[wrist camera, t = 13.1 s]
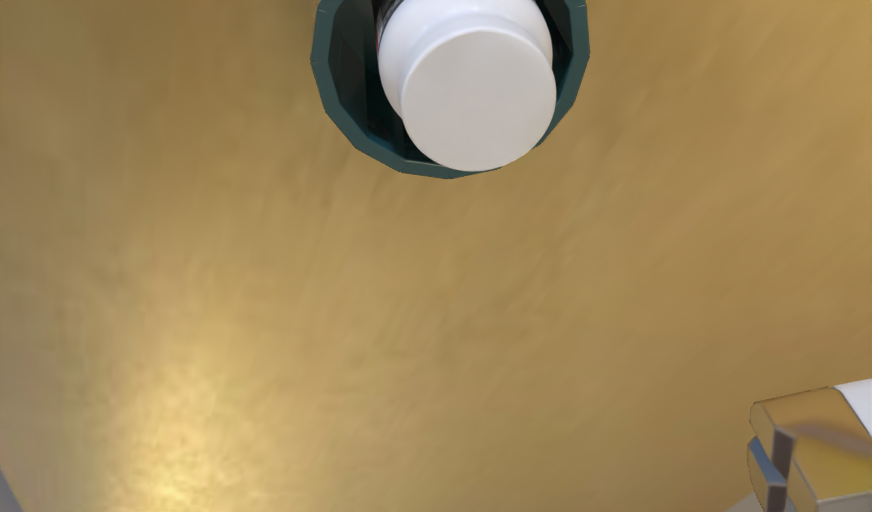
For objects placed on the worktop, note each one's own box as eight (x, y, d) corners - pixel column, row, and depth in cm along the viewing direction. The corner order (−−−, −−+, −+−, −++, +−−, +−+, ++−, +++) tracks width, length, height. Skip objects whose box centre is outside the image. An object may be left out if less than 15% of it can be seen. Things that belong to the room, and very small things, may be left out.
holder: (349, 113, 36) (350, 200, 31) (288, -107, 31) (276, -51, 25) (558, 69, 36) (598, 149, 30) (534, -162, 30) (577, -117, 25)
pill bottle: (385, 71, 34) (398, 200, 26) (357, -70, 31) (361, 30, 23) (523, 46, 34) (577, 169, 26) (510, -98, 31) (567, -7, 23)
